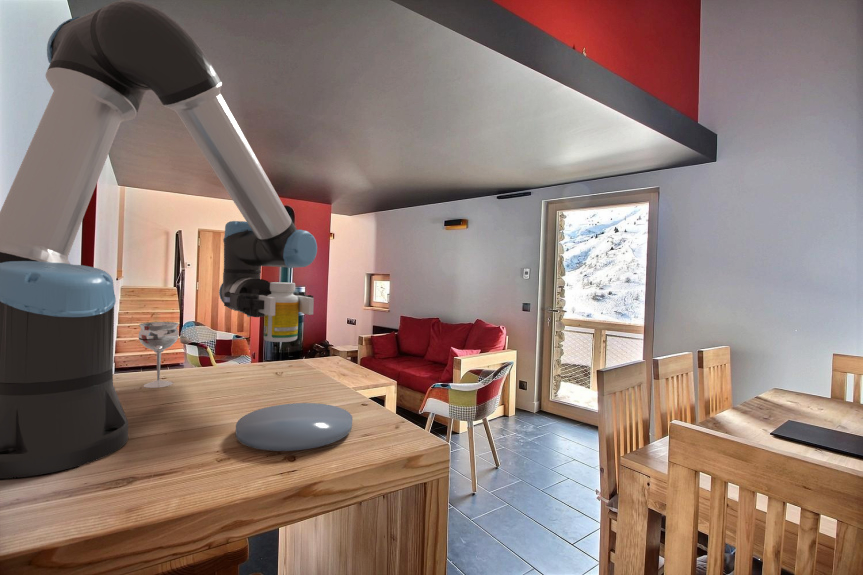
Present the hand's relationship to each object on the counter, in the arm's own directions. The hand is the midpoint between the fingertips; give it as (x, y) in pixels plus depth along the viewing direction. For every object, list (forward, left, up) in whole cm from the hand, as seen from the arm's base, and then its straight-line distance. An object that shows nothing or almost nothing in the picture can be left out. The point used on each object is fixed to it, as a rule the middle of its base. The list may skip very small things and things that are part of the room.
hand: (292, 306), depth 68 cm
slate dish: (-3, -6, -18) cm, 19 cm away
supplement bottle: (+1, +5, -6) cm, 8 cm away
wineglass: (-7, +35, -18) cm, 40 cm away
